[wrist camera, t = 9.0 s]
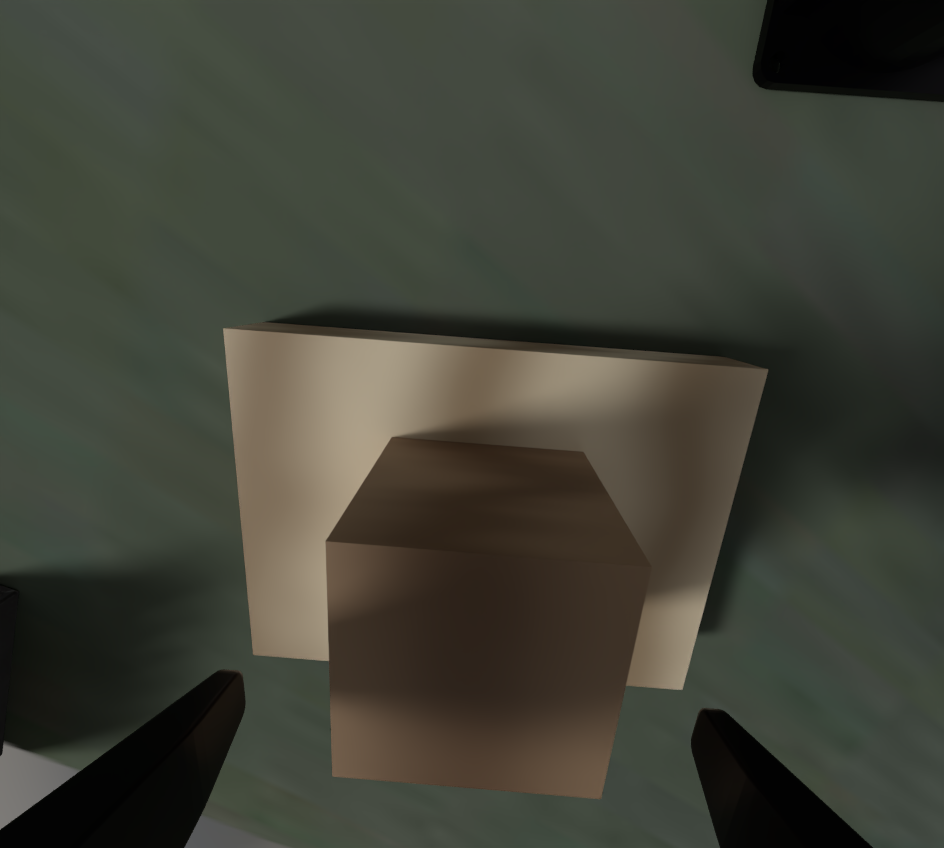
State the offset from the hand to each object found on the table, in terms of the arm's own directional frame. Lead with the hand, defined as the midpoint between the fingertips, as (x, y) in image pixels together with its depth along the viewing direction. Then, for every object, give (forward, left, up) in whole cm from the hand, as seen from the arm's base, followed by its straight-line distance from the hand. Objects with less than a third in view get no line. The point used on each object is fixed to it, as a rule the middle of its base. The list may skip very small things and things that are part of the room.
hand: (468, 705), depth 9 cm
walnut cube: (0, 0, -6) cm, 6 cm away
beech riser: (0, 0, -9) cm, 9 cm away
